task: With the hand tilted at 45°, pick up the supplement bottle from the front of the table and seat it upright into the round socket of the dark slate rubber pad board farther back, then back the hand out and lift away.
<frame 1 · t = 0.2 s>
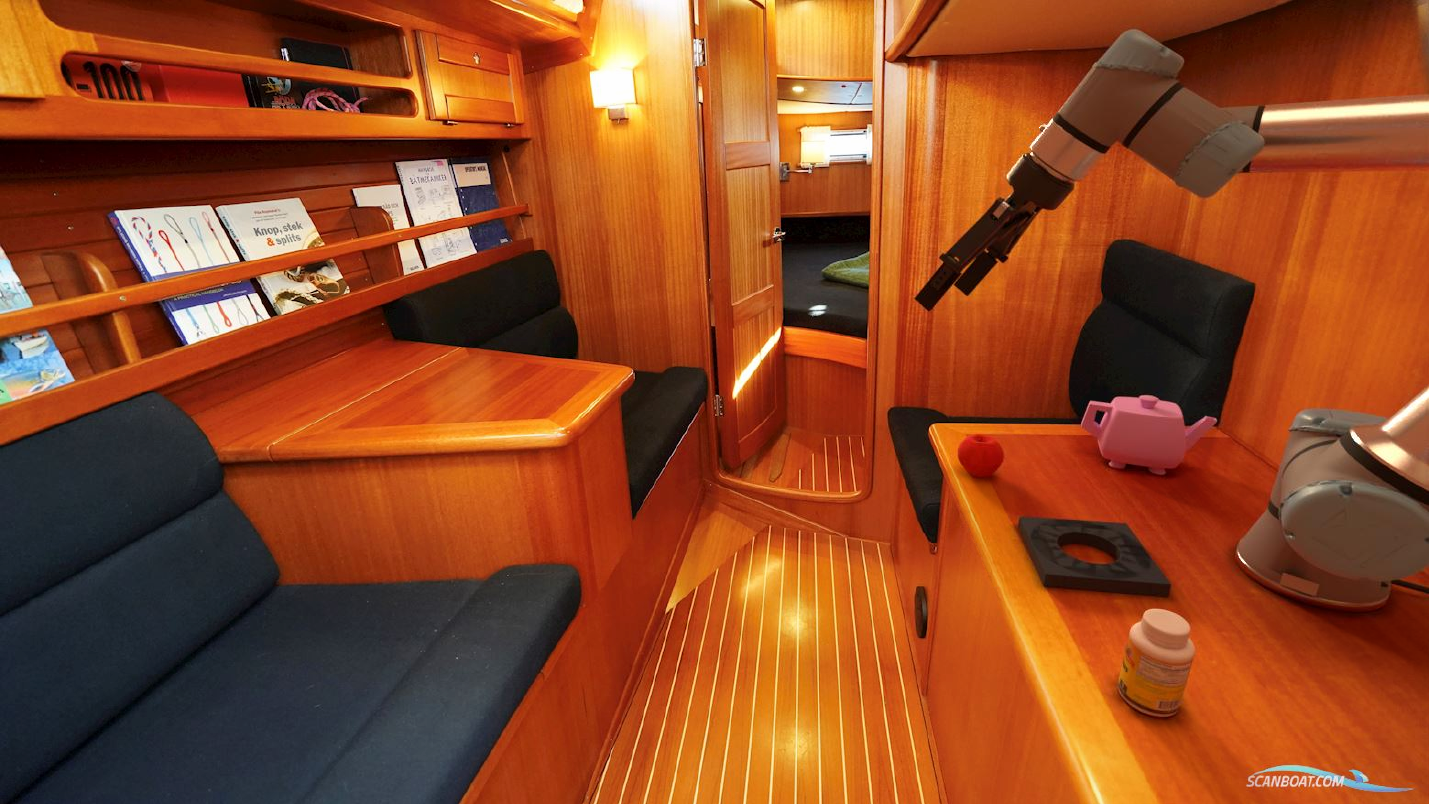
hand: (942, 297, 93), 36 cm above the table, tool tilted 35°, fingers open, 13 cm apart
teapot: (1137, 462, 118), on the table
supplement bottle: (1146, 700, 68), on the table
apple: (977, 474, 117), on the table
pad board: (1086, 558, 91), on the table
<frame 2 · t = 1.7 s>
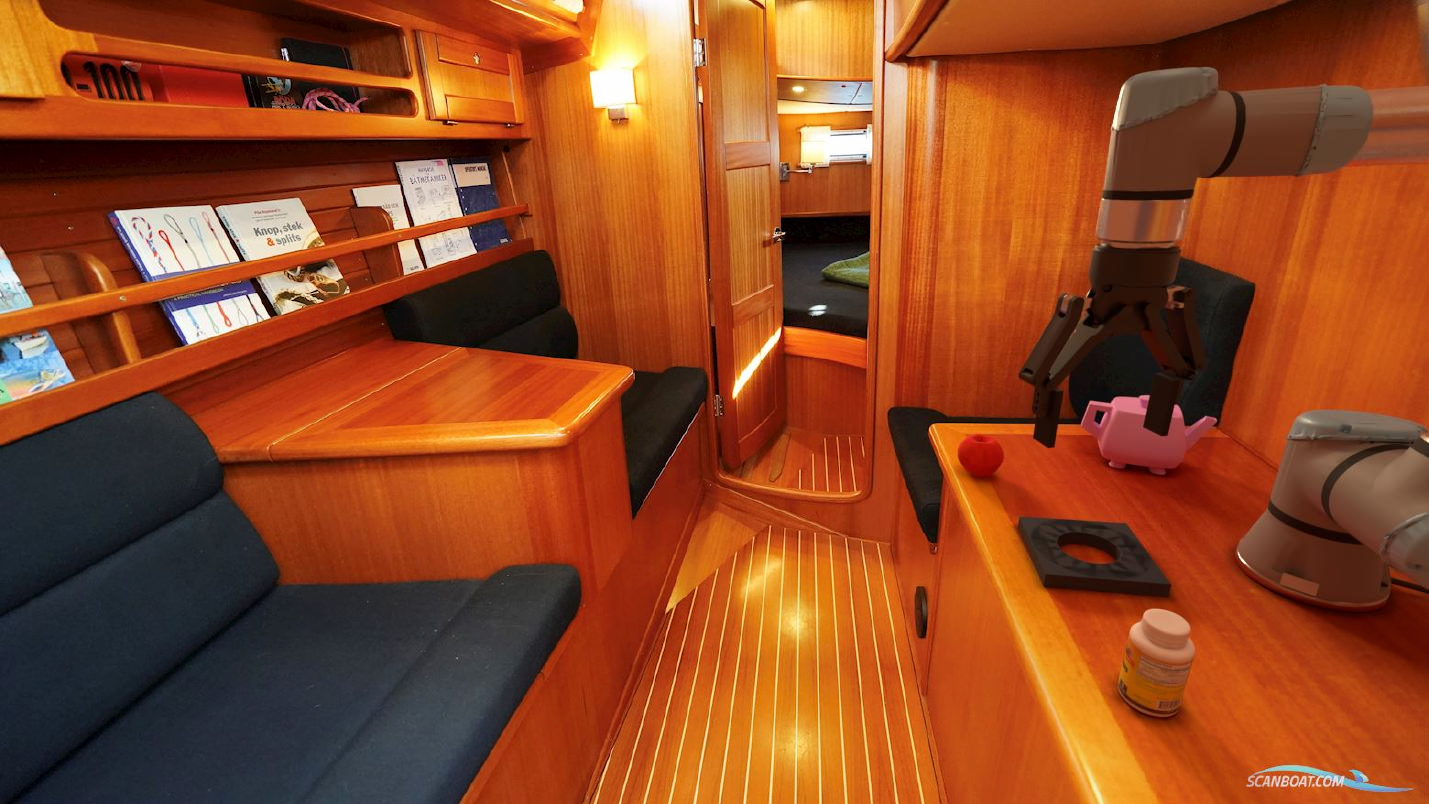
hand: (1099, 437, 71), 25 cm above the table, tool pointing down, fingers open, 13 cm apart
nothing on the table moved.
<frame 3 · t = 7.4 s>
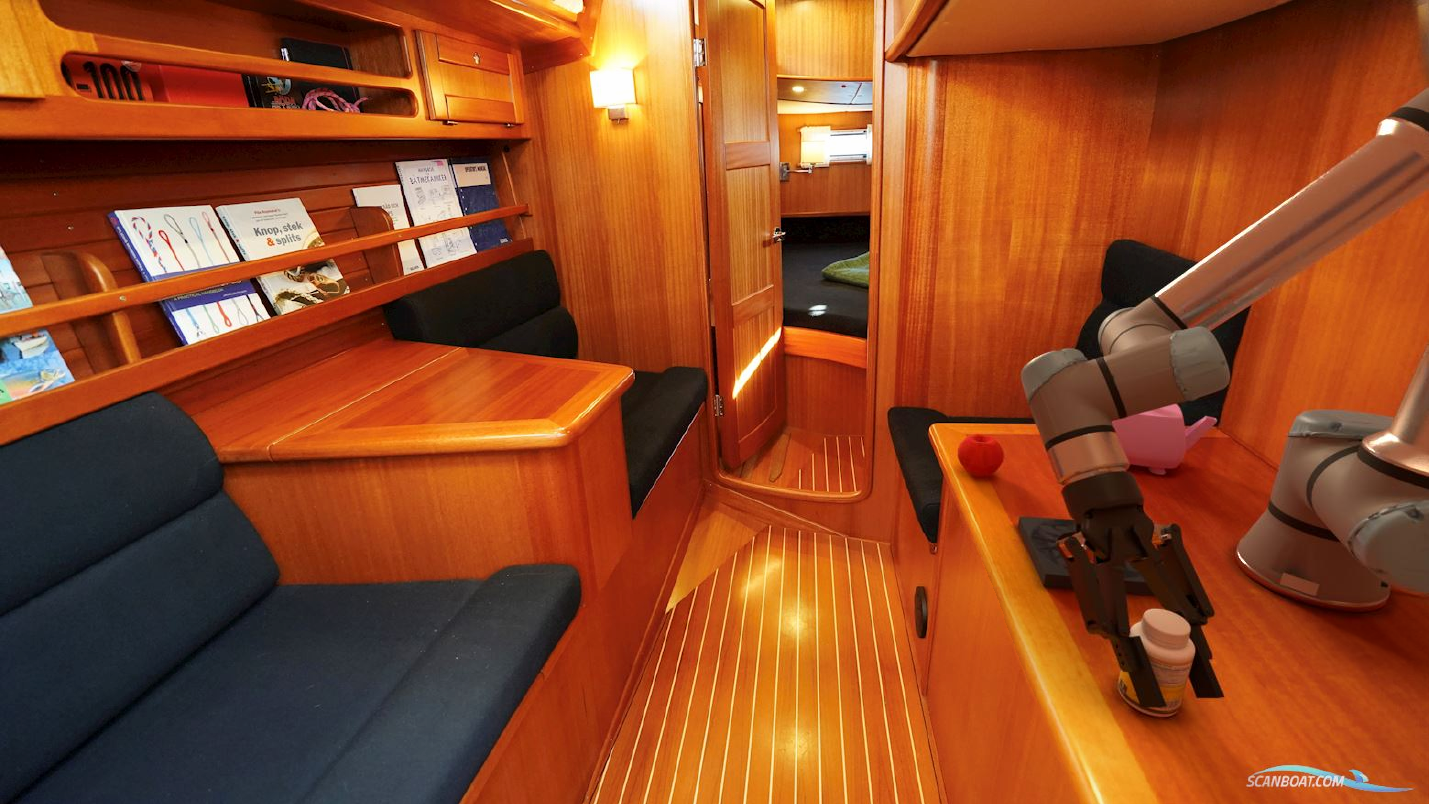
hand: (1182, 701, 63), 3 cm above the table, tool tilted 45°, fingers closed on supplement bottle, 6 cm apart
supplement bottle: (1146, 700, 68), on the table, touching gripper
everything else where it was.
when the fingers open (3 cm above the table, at t = 18.8 s): supplement bottle stays where it is, resting in pad board.
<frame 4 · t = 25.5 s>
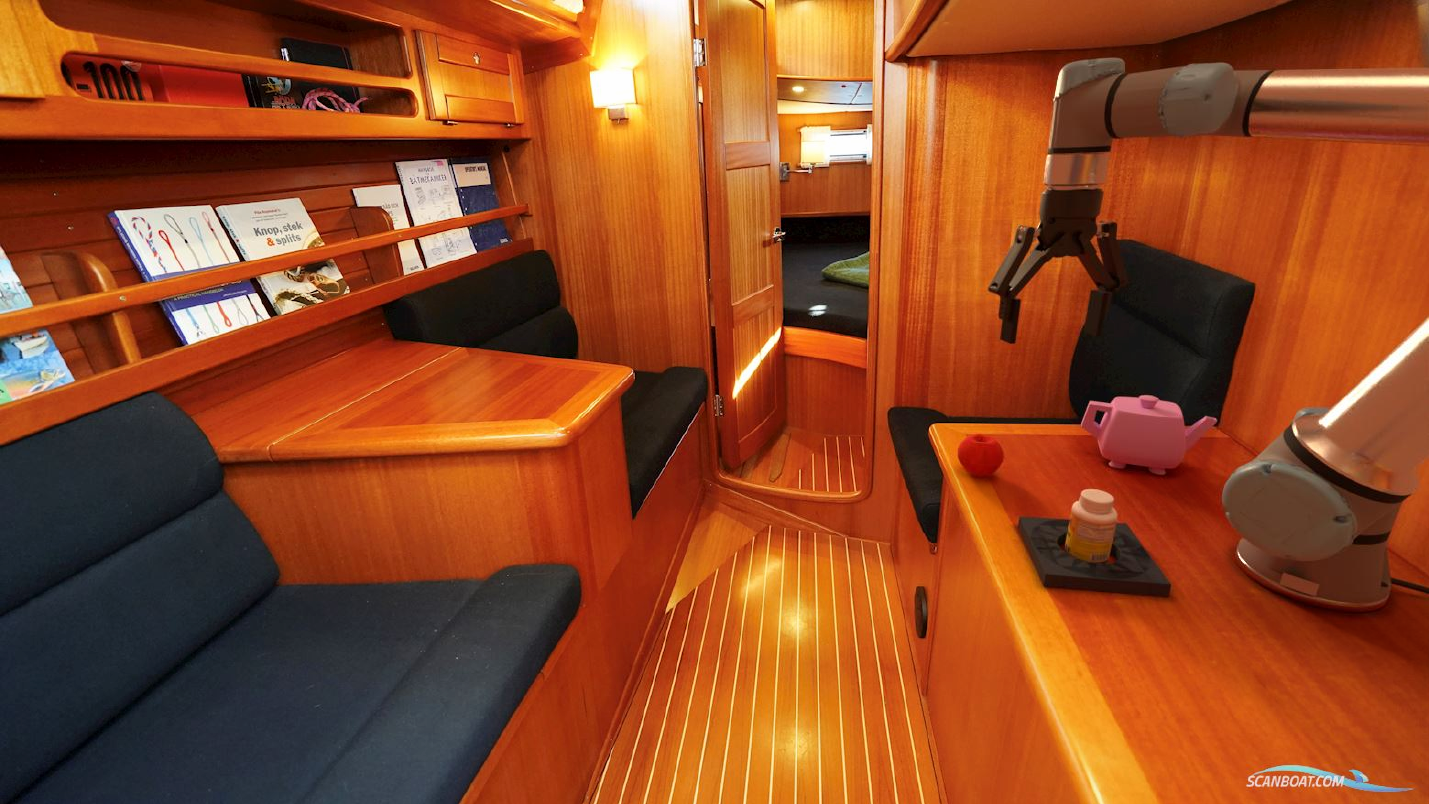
hand: (1050, 338, 95), 29 cm above the table, tool pointing down, fingers open, 13 cm apart
supplement bottle: (1085, 559, 91), resting in pad board
everything else where it was.
at the end: supplement bottle 0.1 cm off-centre in the pad board, point 0.0 cm above the pad board's base; supplement bottle tilted 0°; the gripper is holding nothing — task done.
